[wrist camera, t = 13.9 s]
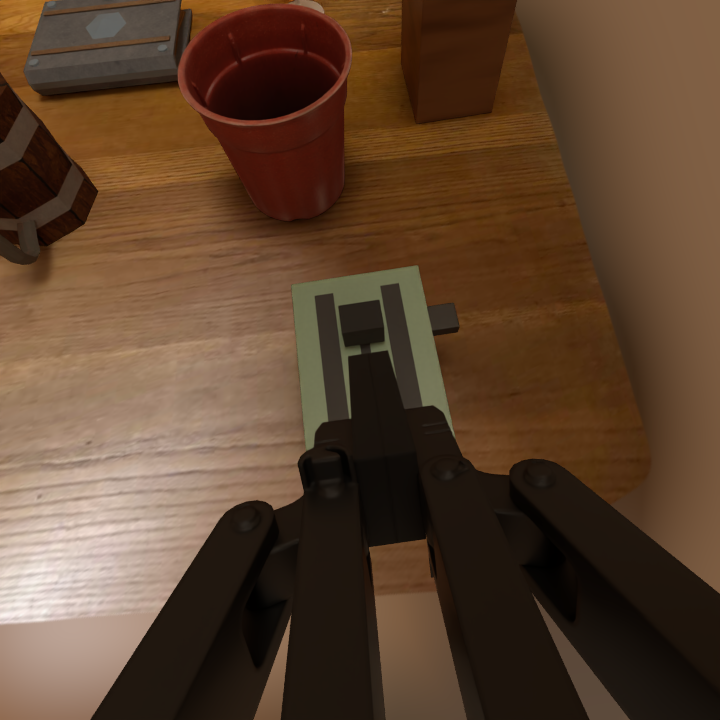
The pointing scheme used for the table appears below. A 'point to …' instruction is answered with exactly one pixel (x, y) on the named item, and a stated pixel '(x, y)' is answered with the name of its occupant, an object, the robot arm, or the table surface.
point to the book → (106, 44)
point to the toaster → (402, 340)
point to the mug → (35, 183)
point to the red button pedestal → (453, 55)
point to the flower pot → (275, 102)
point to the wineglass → (308, 4)
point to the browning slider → (361, 323)
